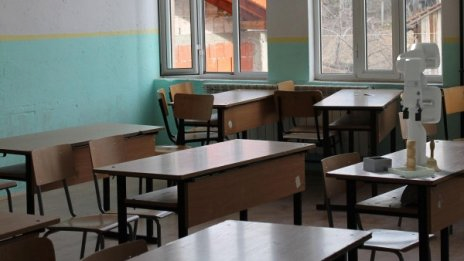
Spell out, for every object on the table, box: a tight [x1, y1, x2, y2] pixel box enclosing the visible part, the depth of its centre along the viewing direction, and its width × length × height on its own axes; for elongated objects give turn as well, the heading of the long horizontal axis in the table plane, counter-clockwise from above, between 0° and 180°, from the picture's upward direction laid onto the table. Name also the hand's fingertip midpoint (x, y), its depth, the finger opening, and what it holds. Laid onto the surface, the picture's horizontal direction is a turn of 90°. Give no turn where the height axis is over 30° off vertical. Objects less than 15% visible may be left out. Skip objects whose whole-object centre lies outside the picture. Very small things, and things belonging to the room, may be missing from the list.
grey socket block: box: [362, 156, 393, 173], centre depth 431 cm, size 10×10×7 cm
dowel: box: [406, 140, 417, 171], centre depth 422 cm, size 4×4×16 cm
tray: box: [387, 165, 436, 179], centre depth 423 cm, size 17×14×3 cm
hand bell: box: [425, 138, 441, 173], centre depth 434 cm, size 8×8×16 cm
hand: (411, 119), depth 420 cm, fingers open, 9 cm apart
